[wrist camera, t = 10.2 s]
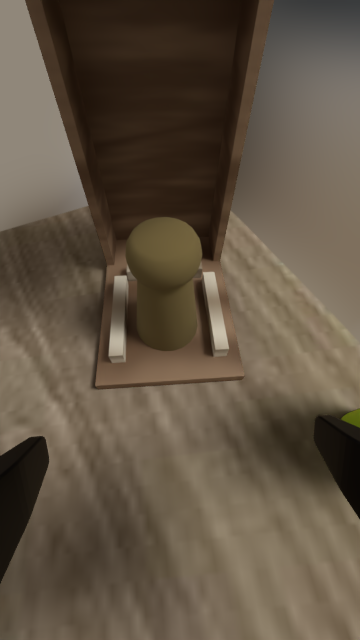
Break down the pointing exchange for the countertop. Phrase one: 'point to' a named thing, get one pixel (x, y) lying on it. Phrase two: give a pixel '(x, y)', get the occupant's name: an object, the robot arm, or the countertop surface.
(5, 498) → the robot arm
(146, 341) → the cork
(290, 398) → the countertop surface
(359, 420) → the soap dispenser
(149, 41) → the wooden stand
